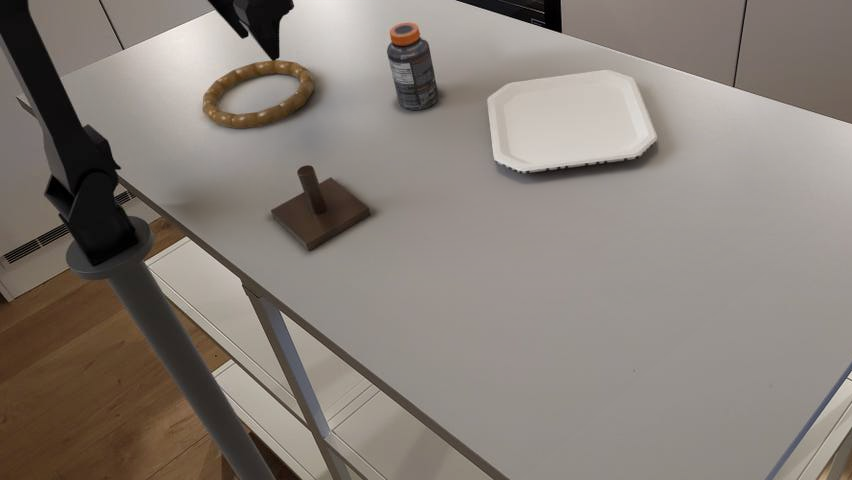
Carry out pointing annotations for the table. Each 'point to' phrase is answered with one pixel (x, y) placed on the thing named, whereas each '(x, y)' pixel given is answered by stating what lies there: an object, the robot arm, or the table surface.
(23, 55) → the robot arm
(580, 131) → the plate
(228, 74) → the ring
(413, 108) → the pill bottle
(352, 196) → the wooden peg stand
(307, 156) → the table surface
